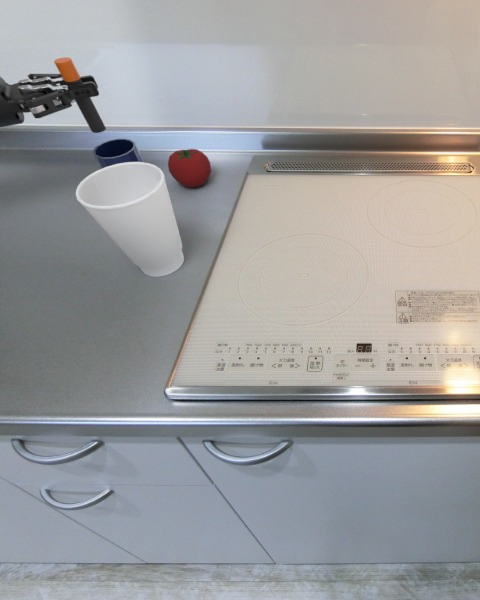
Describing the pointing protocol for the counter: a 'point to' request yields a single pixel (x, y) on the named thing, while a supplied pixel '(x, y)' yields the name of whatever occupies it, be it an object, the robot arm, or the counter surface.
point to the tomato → (189, 167)
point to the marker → (84, 104)
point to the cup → (135, 214)
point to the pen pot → (117, 152)
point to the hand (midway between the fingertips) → (95, 85)
